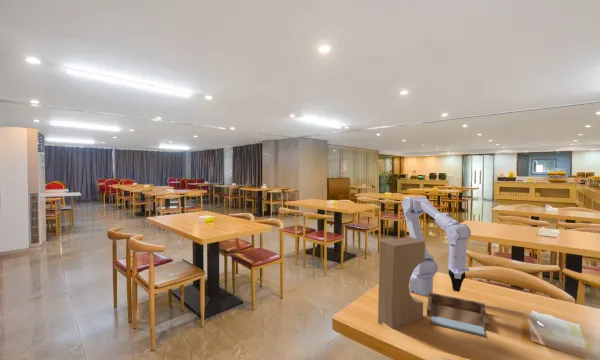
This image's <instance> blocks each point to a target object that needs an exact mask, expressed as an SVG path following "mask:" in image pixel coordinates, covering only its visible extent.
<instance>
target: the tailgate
mask: <svg viewBox="0 0 600 360" xmlns="http://www.w3.org/2000/svg"><path fill="white" fill-rule="evenodd" d="M430 325H434V326H439V327H443V328H445V329H450V330H454V331H459V332H463V333H466V334H471V335H475V336H477V337H478V336H479V337H484V338H487V335H486V333H485V329H484V328H483V327H481V326H476V325H472V324H468V323H463V322H459V321H455V320H450V319H446V318H442V317H437V316H433V315H432V316H430Z"/></svg>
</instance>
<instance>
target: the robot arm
mask: <svg viewBox="0 0 600 360" xmlns="http://www.w3.org/2000/svg"><path fill="white" fill-rule="evenodd" d="M401 207H402V210H403V215H404V219H405V222H406V226H407V231H408V233H409V237H412V238H416V239H419V240H423V241H425V238H424V236H423V233H422V228H421V224H420V220H419V217H420V216H421V215H422V214H423V213H426V214H427V215H429V216H430V217H432V219H434V223H435V224H436V226H439V227H440V228H441V229H442V230H443V231H445V235H446V237H447V239H448V240H447V241H448V265H447V269H449V270H448V276H449V277H450V280H451V285H452V286H451V288H452V291H453V292H458V293H459V292H460V291H461V288H462V284H463V282H464V280H465V279H466V276H467V275H466V272H470V268H469V267H467V247H468V246H467V245H468V243H467V240H468V239H470V237H471V235H472V233H471V232H472V231H471V229H470V227H469V226H468V225H467V224H466V223H460V222H459V221H458V219H457V220H456V219H454V218H453V217H452V216H450V213H448V212H441V211H439V210H438V209H437V208H436V207H435V206H434V205H432V203H430V200H429V199H428V198H427V197H425V196H423V195H422V196H405V197H404V198H403V200H402V202H401ZM438 267H439V266H438V264H437V262H436V261H435V259H434V256H433V255H432V254H430V253H429V252H428V250H427V247H426V245H425V260H424V262H422V263H420V264H419V265H418V266H417V267H416V268H415V269H414V271H413V273H412V275H411V277H410V283H409V290H410V293H413V294H417V295H420V296H425V297H429V292H430V293H434V288H433V287H434V277H435V275H436V274H437V273H438V271H439V270H438Z"/></svg>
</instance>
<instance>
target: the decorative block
mask: <svg viewBox="0 0 600 360" xmlns="http://www.w3.org/2000/svg"><path fill="white" fill-rule="evenodd" d="M425 246H426V241H425V240H424V241H423V240H419V239H416V238H412V237H410V236H408V237H400V238H393V239H392V238H391V239H386V240H380V241H379V252H378V253H379V254H378V255H379V260H378V298H377V299H378V304H377V309H378V310H377V323H378V324H379V325H380V326H383V324H385V325H386V326H387V327H389V328H391V329H392V330H394V329H397V328H401V327H403V326H406V325H409V324H411V323H412V324H413V323H415V322H418V321H421V320H423V319H424V318H423V317H424V302H423V301H422V300H420V299H417V298H416V297H414V296H412V295H411V292H410V290H409V286H410V277H411V275H412V273H413V271H414V269H415V268H416V267H417V266H418V265H419V264H420V263H422V262H424V260H425Z"/></svg>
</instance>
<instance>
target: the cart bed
mask: <svg viewBox="0 0 600 360" xmlns="http://www.w3.org/2000/svg"><path fill="white" fill-rule="evenodd" d="M427 297H428V298H427V299H428V300H427V306H426V317H429V318H431V317H432V315H433V316H437V317H442V318H446V319H450V320H455V321H459V322H463V323H468V324H472V325H476V326H481V327H483V328H484V331H487V332H489V331H490V321H489V318H488V314H487V311H486V308H485V306H486V304H485V302H481V301H475V300H471V299H470V300H469V299H464V298H459V297H455V296H449V295H446V294H445V295H444V294H441V293H440V294H439V293H435V292H433V293H430V292H429V296H427Z"/></svg>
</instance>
